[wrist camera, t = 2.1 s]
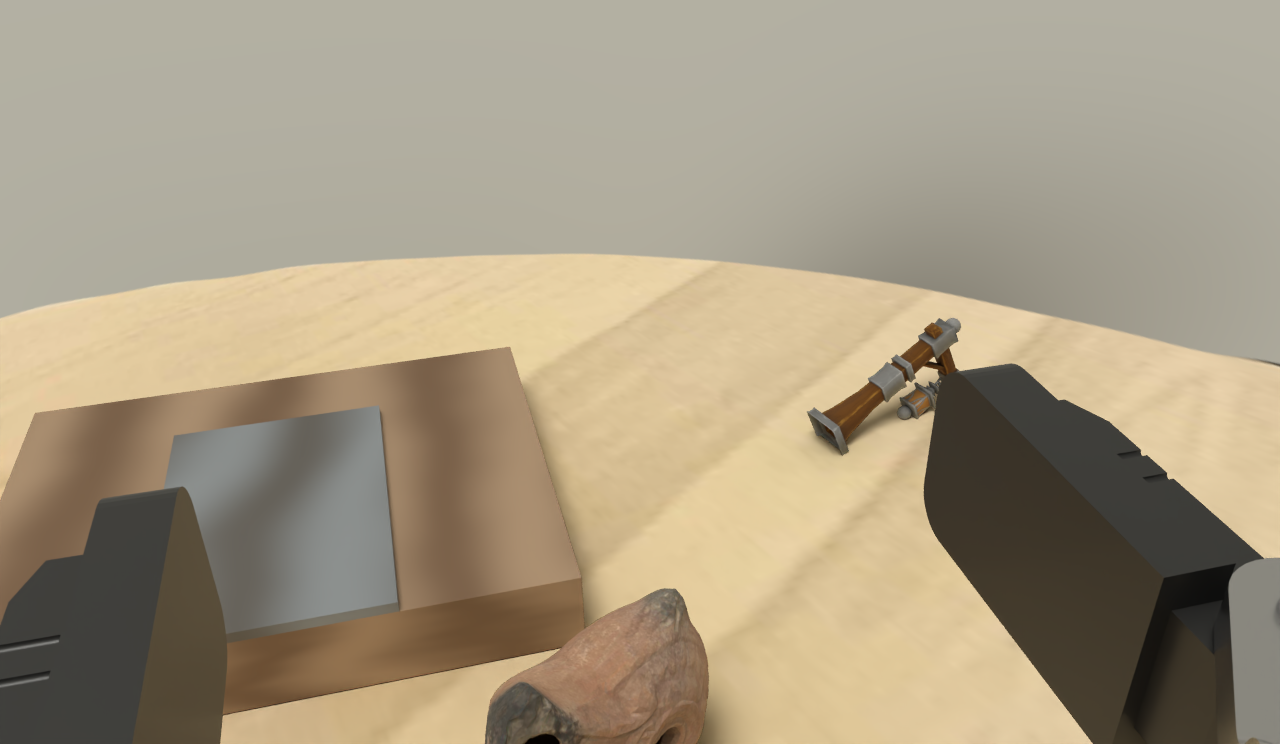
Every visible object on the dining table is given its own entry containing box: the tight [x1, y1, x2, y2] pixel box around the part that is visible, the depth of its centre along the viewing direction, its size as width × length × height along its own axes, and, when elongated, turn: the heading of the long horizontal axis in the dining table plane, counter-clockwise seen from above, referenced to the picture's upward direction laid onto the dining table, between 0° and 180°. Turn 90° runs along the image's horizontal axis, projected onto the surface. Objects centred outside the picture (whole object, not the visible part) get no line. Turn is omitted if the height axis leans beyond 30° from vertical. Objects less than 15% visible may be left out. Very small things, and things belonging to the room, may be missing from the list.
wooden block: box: [0, 347, 585, 714], centre depth 42 cm, size 20×16×3 cm
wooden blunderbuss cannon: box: [807, 318, 961, 455], centre depth 49 cm, size 2×8×4 cm, turn 120°
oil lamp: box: [485, 589, 709, 744], centre depth 30 cm, size 9×4×8 cm, turn 146°
